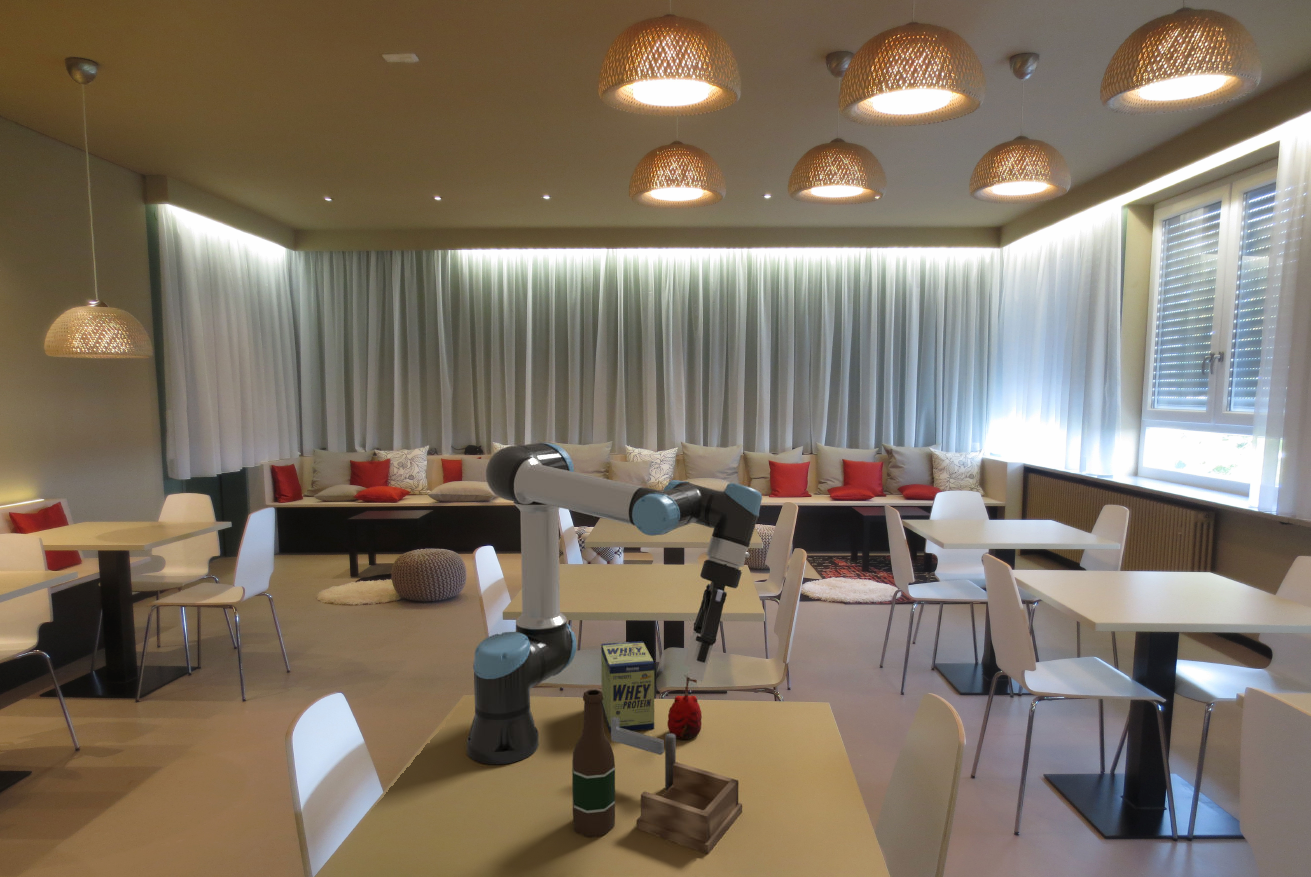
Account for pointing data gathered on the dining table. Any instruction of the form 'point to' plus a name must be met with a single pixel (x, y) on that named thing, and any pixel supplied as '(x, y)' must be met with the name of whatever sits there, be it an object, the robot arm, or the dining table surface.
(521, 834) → the dining table surface
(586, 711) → the beer bottle
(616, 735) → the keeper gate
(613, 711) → the protein box
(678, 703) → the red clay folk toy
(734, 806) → the wooden crate
